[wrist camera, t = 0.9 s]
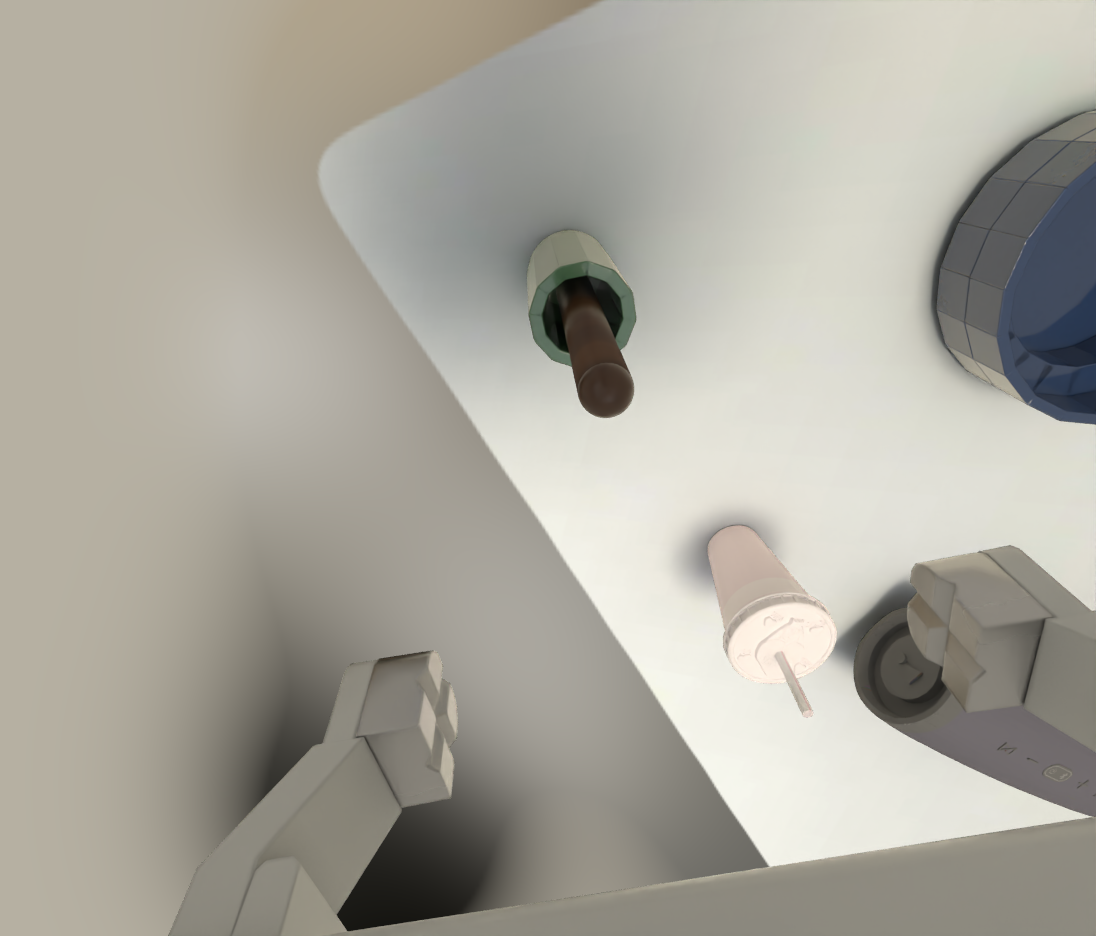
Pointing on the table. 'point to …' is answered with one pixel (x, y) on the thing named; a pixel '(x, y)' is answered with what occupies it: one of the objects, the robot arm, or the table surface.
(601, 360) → the stick
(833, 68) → the table surface
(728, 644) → the smoothie
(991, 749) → the bluetooth speaker
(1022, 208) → the bowl
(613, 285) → the holder
